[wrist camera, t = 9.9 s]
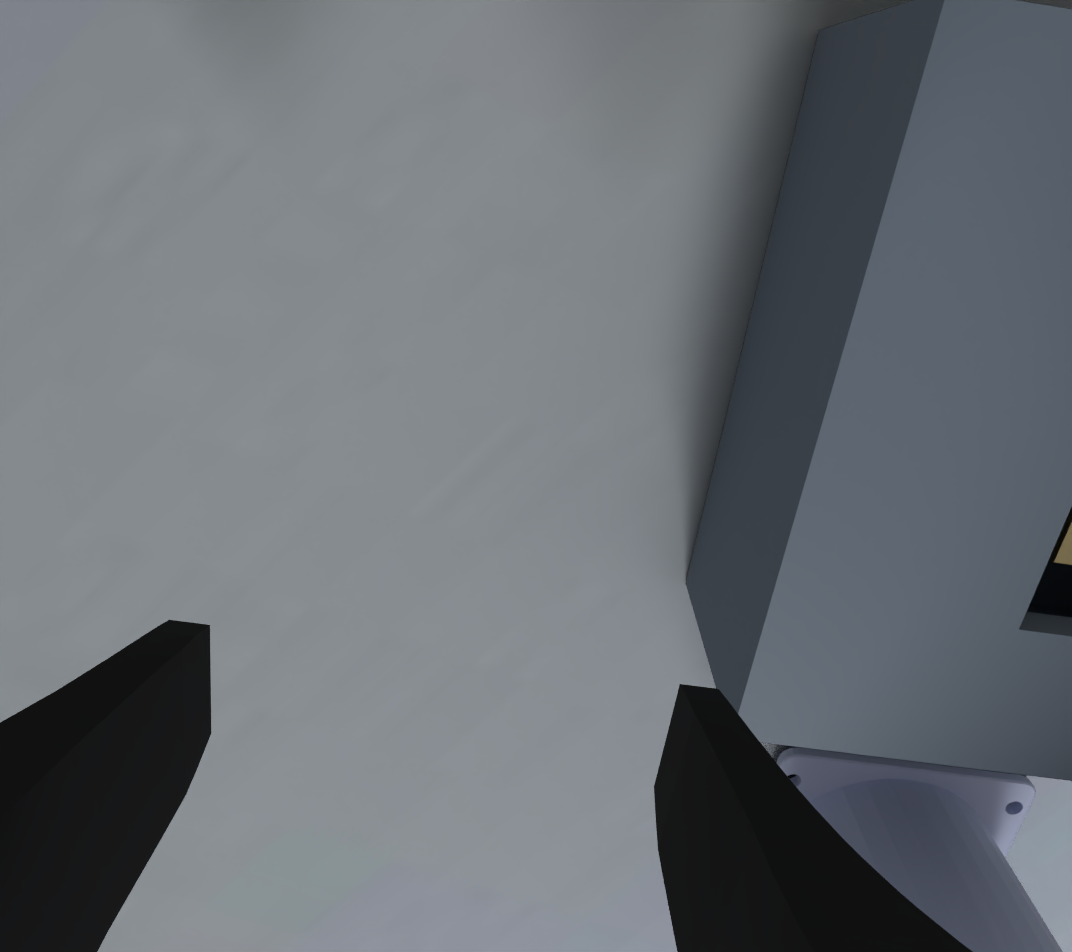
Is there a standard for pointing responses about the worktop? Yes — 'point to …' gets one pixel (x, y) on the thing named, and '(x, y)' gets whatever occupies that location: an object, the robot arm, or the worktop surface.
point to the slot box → (908, 406)
